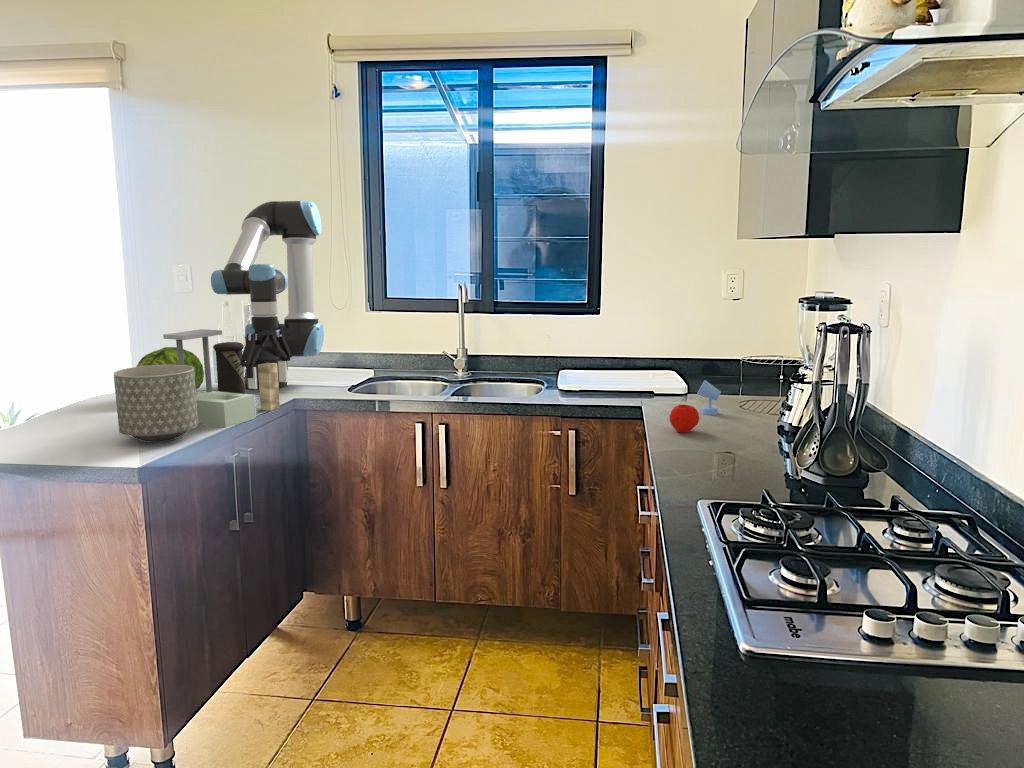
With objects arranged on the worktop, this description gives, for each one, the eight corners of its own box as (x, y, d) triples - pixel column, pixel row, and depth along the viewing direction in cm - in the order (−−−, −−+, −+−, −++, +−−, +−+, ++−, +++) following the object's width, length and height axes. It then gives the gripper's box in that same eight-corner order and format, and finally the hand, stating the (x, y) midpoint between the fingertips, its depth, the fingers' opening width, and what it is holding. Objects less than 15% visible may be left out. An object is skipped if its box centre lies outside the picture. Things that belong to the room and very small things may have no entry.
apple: (704, 434, 206) (705, 406, 205) (677, 436, 204) (678, 408, 203) (689, 427, 214) (690, 400, 213) (663, 429, 212) (664, 402, 210)
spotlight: (695, 414, 230) (719, 415, 228) (696, 380, 228) (721, 382, 226) (696, 410, 234) (720, 412, 232) (697, 378, 233) (721, 379, 231)
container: (238, 408, 241) (233, 344, 237) (212, 407, 243) (207, 343, 239) (252, 402, 249) (248, 340, 246) (227, 401, 251) (222, 340, 247)
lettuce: (105, 380, 244) (136, 350, 236) (157, 357, 265) (188, 328, 256) (142, 426, 246) (175, 398, 238) (191, 399, 267) (223, 372, 258)
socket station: (170, 421, 223) (163, 334, 219) (207, 412, 236) (201, 329, 231) (223, 428, 216) (216, 337, 211) (258, 417, 228) (252, 332, 224)
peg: (269, 407, 243) (266, 362, 240) (279, 408, 241) (277, 363, 239) (260, 409, 239) (257, 364, 237) (271, 410, 238) (268, 365, 235)
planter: (146, 429, 215) (140, 364, 212) (212, 430, 213) (207, 364, 210) (104, 446, 197) (97, 376, 193) (175, 448, 195) (169, 377, 191)
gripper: (282, 312, 248) (285, 378, 251) (224, 318, 225) (229, 390, 229) (301, 313, 245) (304, 379, 248) (244, 319, 222) (249, 392, 226)
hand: (268, 385), depth 238 cm, fingers open, 13 cm apart
